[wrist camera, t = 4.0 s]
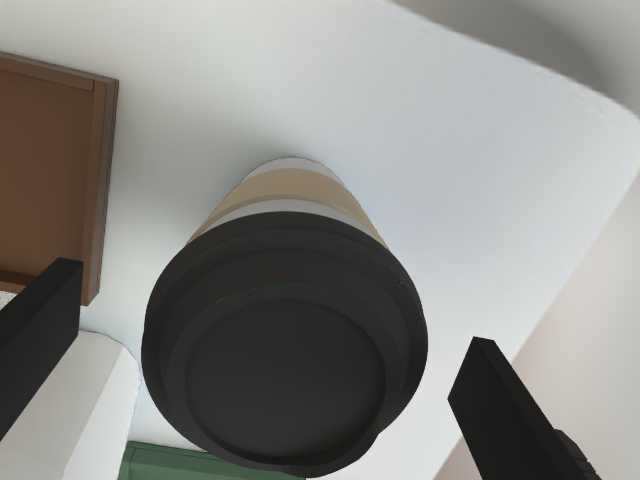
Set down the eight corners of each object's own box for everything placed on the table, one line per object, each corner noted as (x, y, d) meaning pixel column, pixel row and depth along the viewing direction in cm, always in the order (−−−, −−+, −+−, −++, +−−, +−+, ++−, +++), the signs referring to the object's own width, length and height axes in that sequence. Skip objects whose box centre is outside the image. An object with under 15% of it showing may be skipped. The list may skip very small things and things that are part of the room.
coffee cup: (176, 187, 27) (44, 345, 13) (322, 103, 25) (353, 177, 11) (264, 313, 30) (234, 550, 16) (398, 244, 28) (494, 437, 15)
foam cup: (-15, 387, 31) (-215, 608, 19) (52, 280, 28) (-129, 456, 16) (121, 453, 33) (20, 686, 21) (194, 360, 31) (127, 564, 19)
